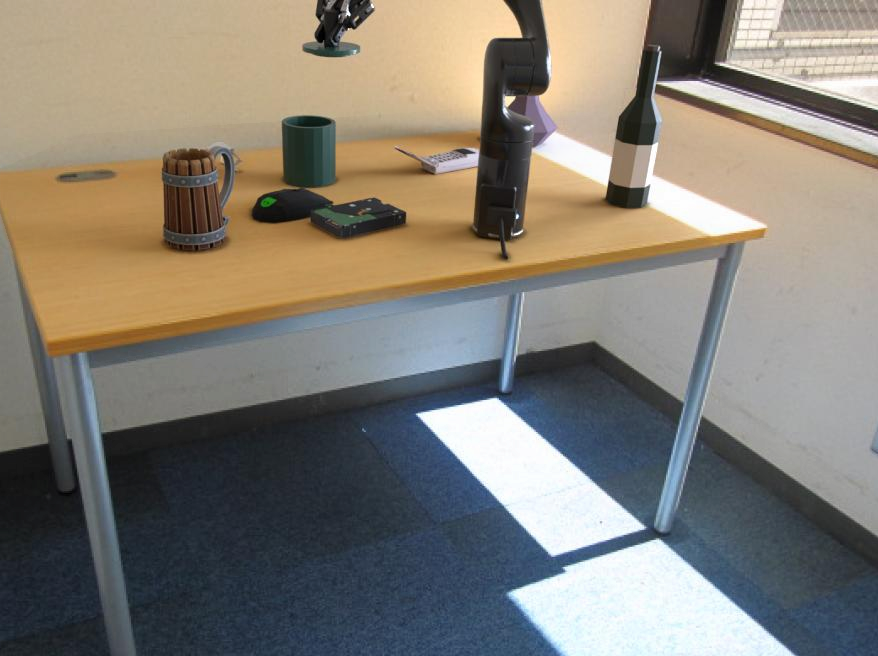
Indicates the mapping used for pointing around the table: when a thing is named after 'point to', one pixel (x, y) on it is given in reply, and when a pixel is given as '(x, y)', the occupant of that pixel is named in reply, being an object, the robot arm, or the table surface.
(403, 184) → the table surface
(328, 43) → the green pot lid
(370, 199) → the disk drive
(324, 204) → the computer mouse
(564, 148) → the table surface
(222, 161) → the origami figure
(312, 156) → the cylindrical cup
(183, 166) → the mug
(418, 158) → the mobile phone
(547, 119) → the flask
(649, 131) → the wine bottle
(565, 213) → the table surface
